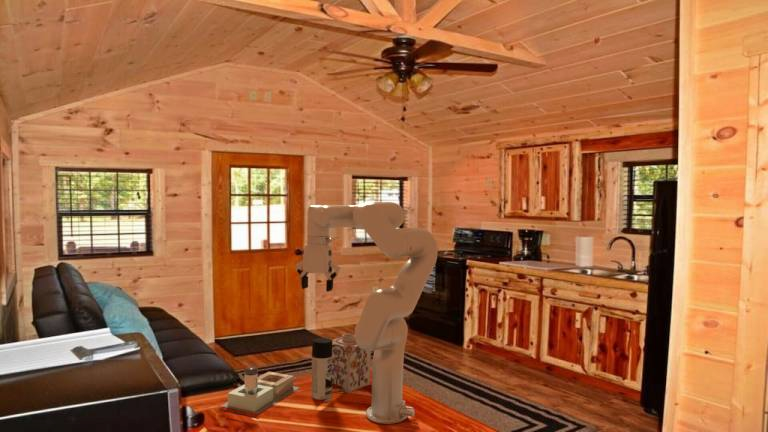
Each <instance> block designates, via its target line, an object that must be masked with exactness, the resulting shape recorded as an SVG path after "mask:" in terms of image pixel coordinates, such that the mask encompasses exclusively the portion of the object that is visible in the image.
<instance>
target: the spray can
mask: <svg viewBox="0 0 768 432" xmlns="http://www.w3.org/2000/svg"><path fill="white" fill-rule="evenodd" d="M332 341H333V340H332V339H331V338H327V337H318V338H317V337H316V338H314V339H312V341H311V397H312V398H313V399H315V400H318V401H320V400H321V401H322V400H323V401H322V402H321V404H327V403H329V402H330V401H332V398H333V395H332V394H333V390H332V389H333V383H332Z"/></svg>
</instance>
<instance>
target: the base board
mask: <svg viewBox="0 0 768 432" xmlns="http://www.w3.org/2000/svg"><path fill="white" fill-rule="evenodd" d="M299 389H300V386H294V385H293V388H292V389H290V390H288V391H287V392H285V393H284V394H282V395H280V396H279V397H277V398H275V397H273V400H272V401H271V402H269V403H268V404H266V405H264V406H263V407H261V408H260V409H258V410H256V411H255V412H254V411H249V410H245V409H240V408H236V407H231V406H228V401H226V402H225V403H222V404H221V405H220V407H224V408H227V409H232V410H233V409H234V410H237V411H242V412H247V413H250V414H255V415H260V414H261V413H262V412H264V411H266V410H267V409H269V408H270V407H272V406H273V405H275V404H277V403H278V402H280V401H281V400H283V399H284V398H286V397H288V396H289V395H291V394H293V392H295V391H297V390H299ZM219 411H220V412H225V413H230V414H234V415H237V416H238V415H239V416H243V417H247V418H252V419H255V420H258V419H260V417H258V416H257V417H256V416H252V415H248V414H244V413H243V414H242V413H239V412H234V411H231V410H230V411H229V410H225V409H222V408H221V409H219Z"/></svg>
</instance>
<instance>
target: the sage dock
mask: <svg viewBox="0 0 768 432" xmlns="http://www.w3.org/2000/svg"><path fill="white" fill-rule="evenodd" d="M272 400H273V388H272V387H267V386H262V385H258V393H256V394H255V395H249V394H245V383H244V384H242V385H241V386H238V387H237V388H235V389H232V390H231V391H229V392H227V402H228V406H231V407H236V408H240V409H245V410H249V411H254V412H255V411H256V410H258V409H260V408H261V407H263V406H264V405H266V404H268V403H269V402H271V401H272Z"/></svg>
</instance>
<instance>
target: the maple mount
mask: <svg viewBox="0 0 768 432" xmlns="http://www.w3.org/2000/svg"><path fill="white" fill-rule="evenodd" d="M258 385H262V386H267V387H272V388H273V397H275V398H277V397H279V396H280V395H282V394H284V393H285V392H287V391H288V390H290V389H292V388H293V386H294V375H291V374H290V375H289V374H284V373H279V372H273V371H267V372H265V373H263V374H262V375H259V376H258Z"/></svg>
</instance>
